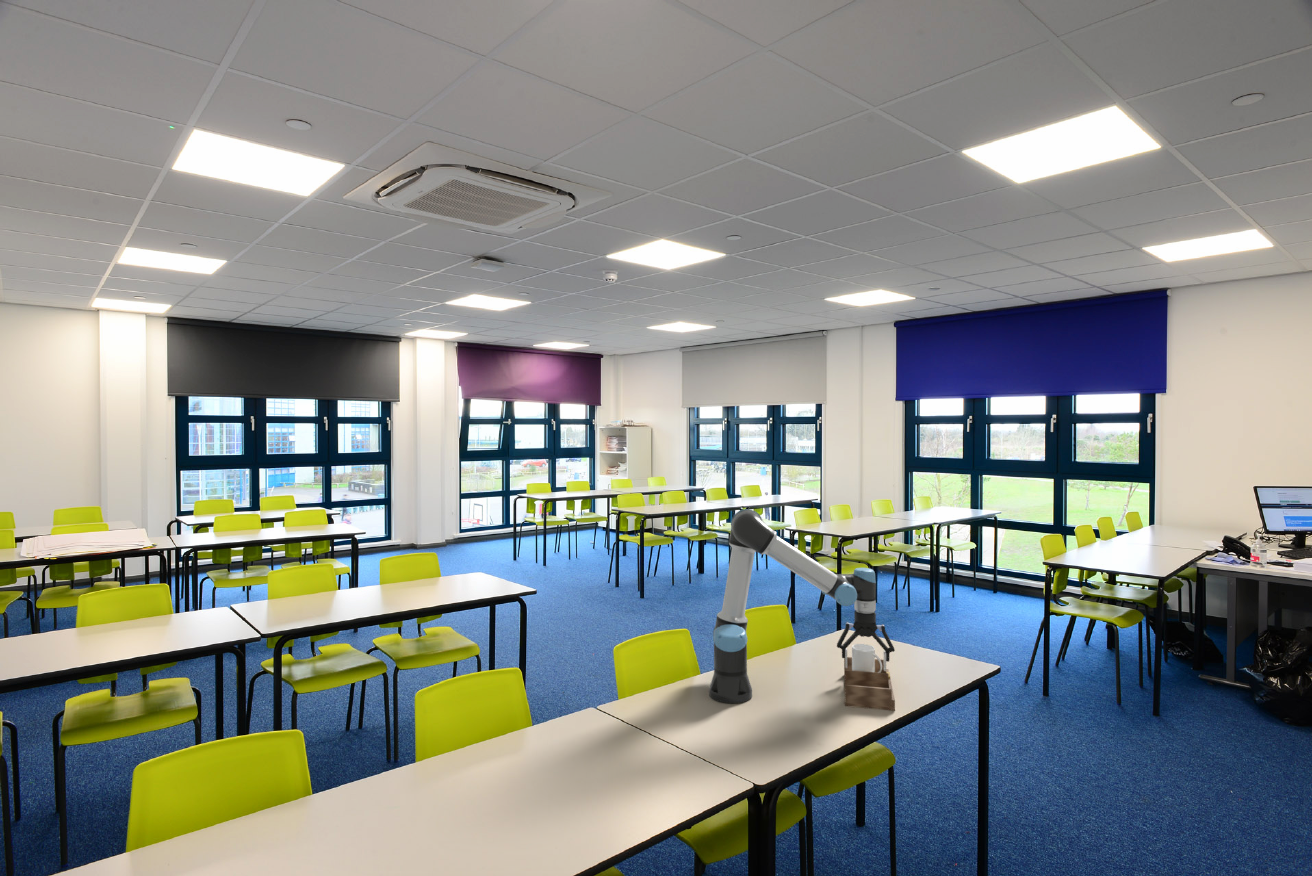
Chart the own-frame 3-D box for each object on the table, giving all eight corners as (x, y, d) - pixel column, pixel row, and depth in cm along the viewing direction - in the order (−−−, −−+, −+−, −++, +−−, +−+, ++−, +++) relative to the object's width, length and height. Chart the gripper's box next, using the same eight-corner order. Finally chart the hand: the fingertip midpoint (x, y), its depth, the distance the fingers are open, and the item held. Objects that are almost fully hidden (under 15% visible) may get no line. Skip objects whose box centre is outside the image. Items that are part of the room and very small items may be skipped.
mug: (887, 683, 242) (888, 650, 242) (873, 689, 237) (873, 655, 237) (861, 673, 252) (861, 641, 252) (846, 678, 247) (846, 646, 247)
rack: (845, 705, 226) (844, 685, 226) (844, 674, 255) (844, 656, 254) (895, 710, 221) (894, 689, 221) (888, 678, 250) (888, 659, 250)
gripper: (829, 611, 245) (830, 669, 245) (901, 615, 238) (902, 674, 238) (830, 606, 252) (830, 662, 252) (900, 610, 245) (900, 667, 245)
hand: (865, 668), depth 245 cm, fingers open, 13 cm apart
